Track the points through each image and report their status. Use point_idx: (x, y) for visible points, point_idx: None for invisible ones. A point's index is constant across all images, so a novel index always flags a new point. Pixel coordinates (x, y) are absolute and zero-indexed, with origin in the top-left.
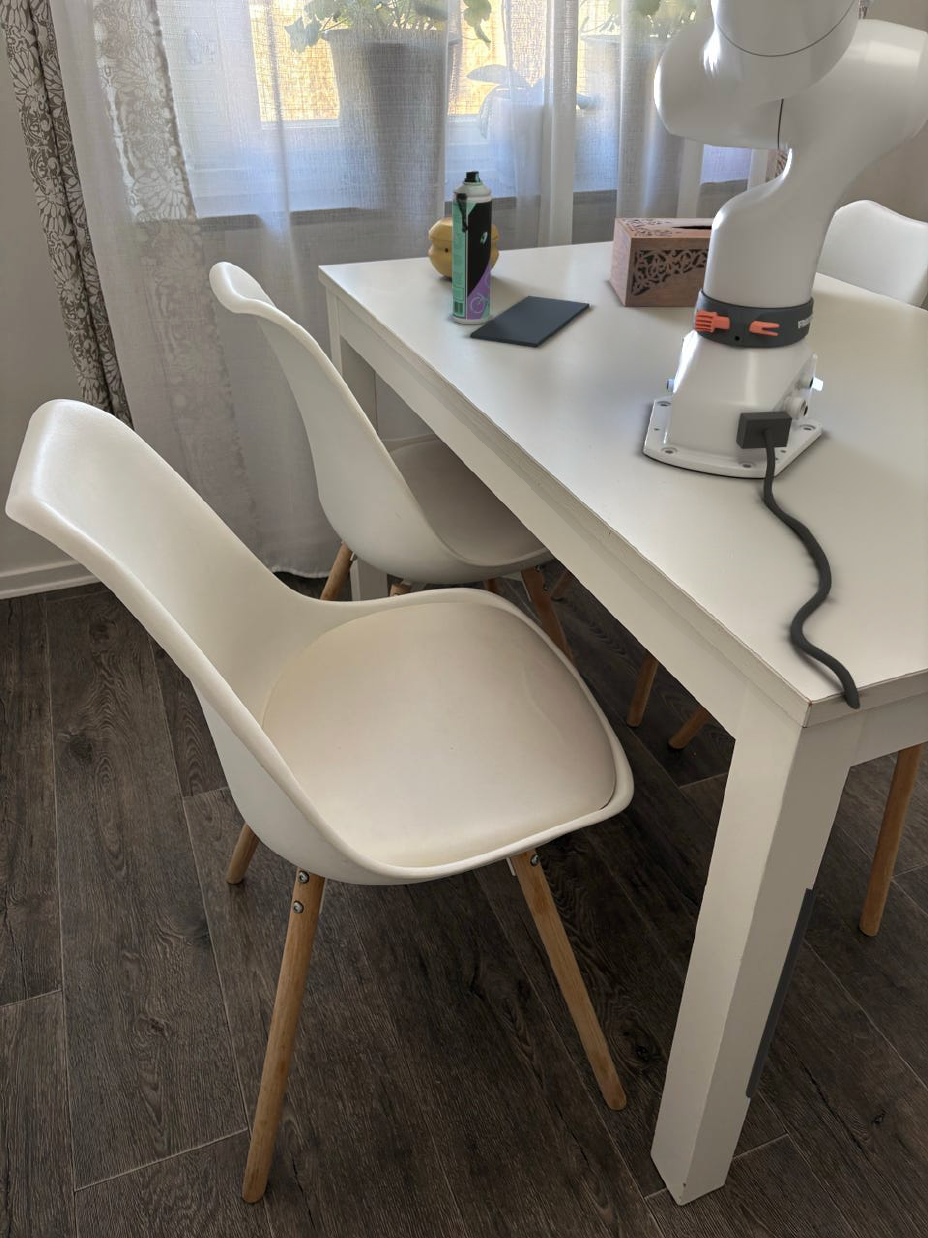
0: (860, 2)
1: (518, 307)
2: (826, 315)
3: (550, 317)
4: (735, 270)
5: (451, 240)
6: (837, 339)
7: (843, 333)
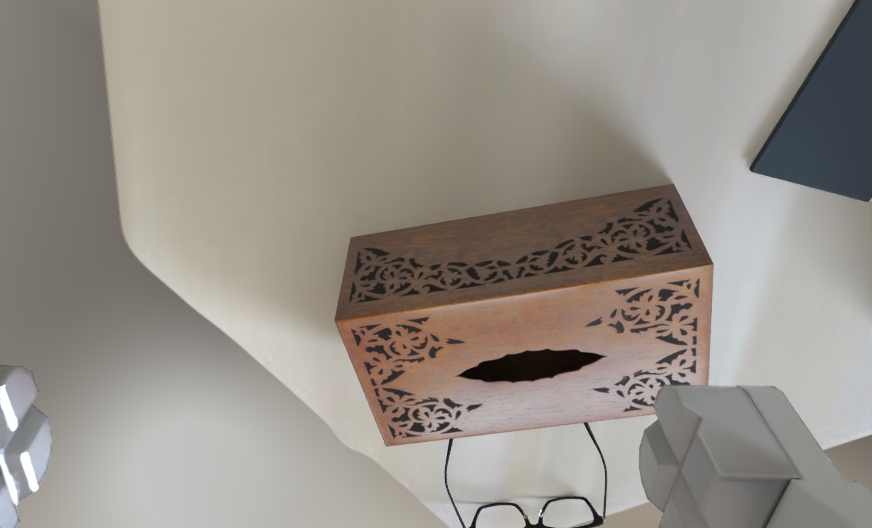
0: (10, 373)
1: None
2: (284, 193)
3: (864, 60)
4: None
5: None
6: (261, 43)
7: (250, 86)
